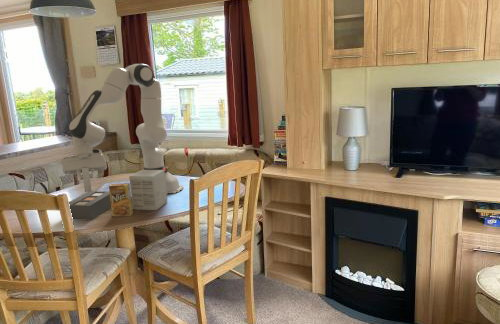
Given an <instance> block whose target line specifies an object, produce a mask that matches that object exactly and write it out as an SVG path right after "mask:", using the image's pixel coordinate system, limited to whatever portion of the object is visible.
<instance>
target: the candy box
mask: <svg viewBox="0 0 500 324" xmlns="http://www.w3.org/2000/svg"><path fill="white" fill-rule="evenodd" d="M108 192H110V200H111V208H110V209H111V215H112V216H111V217H131V216H132V215H133V210H134V209H133V205H132V196H131V188H130V182H129V183H111V184H110V185H108Z"/></svg>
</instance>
